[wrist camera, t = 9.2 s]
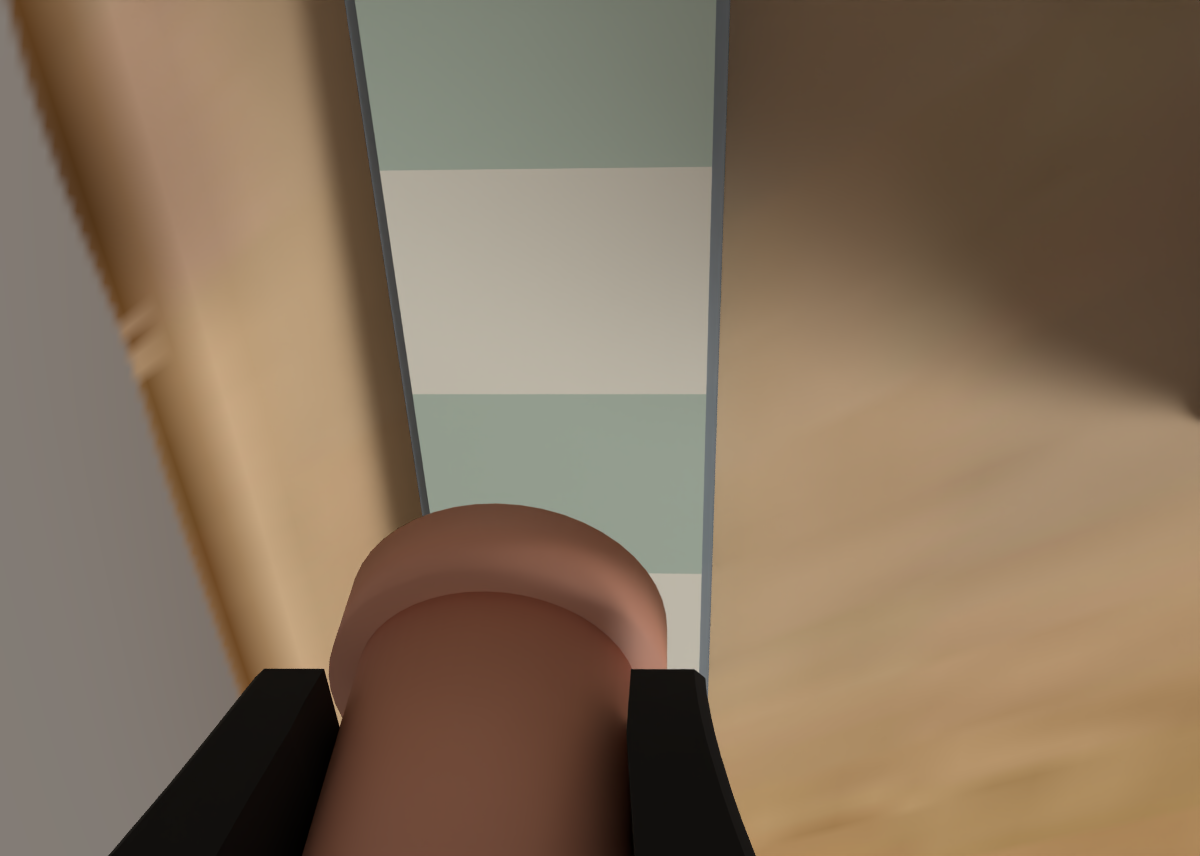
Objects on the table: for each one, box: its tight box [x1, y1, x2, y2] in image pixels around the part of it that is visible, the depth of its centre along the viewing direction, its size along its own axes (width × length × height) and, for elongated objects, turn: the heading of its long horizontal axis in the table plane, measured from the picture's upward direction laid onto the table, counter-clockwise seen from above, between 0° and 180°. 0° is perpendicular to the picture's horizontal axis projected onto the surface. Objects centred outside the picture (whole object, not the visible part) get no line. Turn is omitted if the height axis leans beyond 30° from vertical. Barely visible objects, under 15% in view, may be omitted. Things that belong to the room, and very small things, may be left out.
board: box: [344, 0, 730, 697], centre depth 17 cm, size 24×5×1 cm, turn 2°
